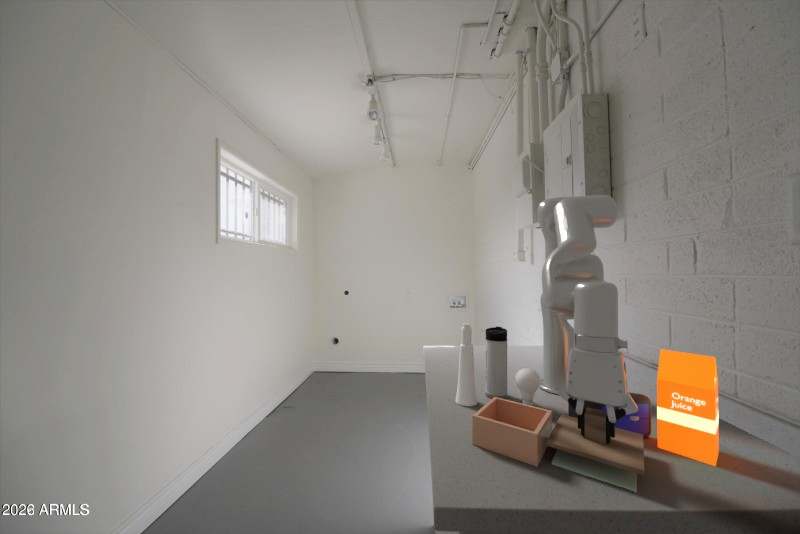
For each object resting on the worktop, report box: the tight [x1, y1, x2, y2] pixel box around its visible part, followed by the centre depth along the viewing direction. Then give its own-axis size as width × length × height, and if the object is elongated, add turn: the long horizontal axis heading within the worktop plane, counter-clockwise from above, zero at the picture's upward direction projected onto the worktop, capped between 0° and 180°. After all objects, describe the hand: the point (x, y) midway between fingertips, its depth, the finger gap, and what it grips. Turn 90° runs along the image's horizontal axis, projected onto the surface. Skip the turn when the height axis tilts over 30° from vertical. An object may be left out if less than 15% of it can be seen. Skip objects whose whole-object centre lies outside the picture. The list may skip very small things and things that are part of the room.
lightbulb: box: [514, 366, 541, 406], centre depth 85 cm, size 6×6×11 cm
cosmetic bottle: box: [455, 322, 478, 407], centre depth 89 cm, size 6×6×22 cm
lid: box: [547, 407, 645, 476], centre depth 63 cm, size 15×15×6 cm
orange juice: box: [656, 349, 720, 467], centre depth 66 cm, size 8×9×20 cm
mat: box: [551, 449, 638, 493], centre depth 63 cm, size 16×13×1 cm
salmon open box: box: [471, 397, 553, 467], centre depth 69 cm, size 13×13×6 cm
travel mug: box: [484, 326, 508, 399], centre depth 94 cm, size 6×7×20 cm
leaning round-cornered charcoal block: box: [567, 391, 652, 439], centre depth 73 cm, size 16×5×9 cm, turn 61°
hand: (595, 435), depth 63 cm, fingers closed on lid, 3 cm apart
